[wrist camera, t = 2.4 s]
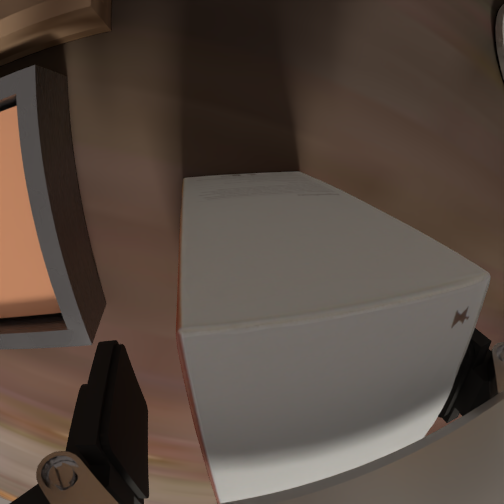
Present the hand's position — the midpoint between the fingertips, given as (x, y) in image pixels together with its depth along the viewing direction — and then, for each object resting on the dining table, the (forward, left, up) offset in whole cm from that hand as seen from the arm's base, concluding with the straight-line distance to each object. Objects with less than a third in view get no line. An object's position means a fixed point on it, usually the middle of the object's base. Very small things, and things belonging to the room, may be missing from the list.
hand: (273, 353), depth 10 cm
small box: (-1, 0, -9) cm, 9 cm away
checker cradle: (+13, -4, -9) cm, 17 cm away
